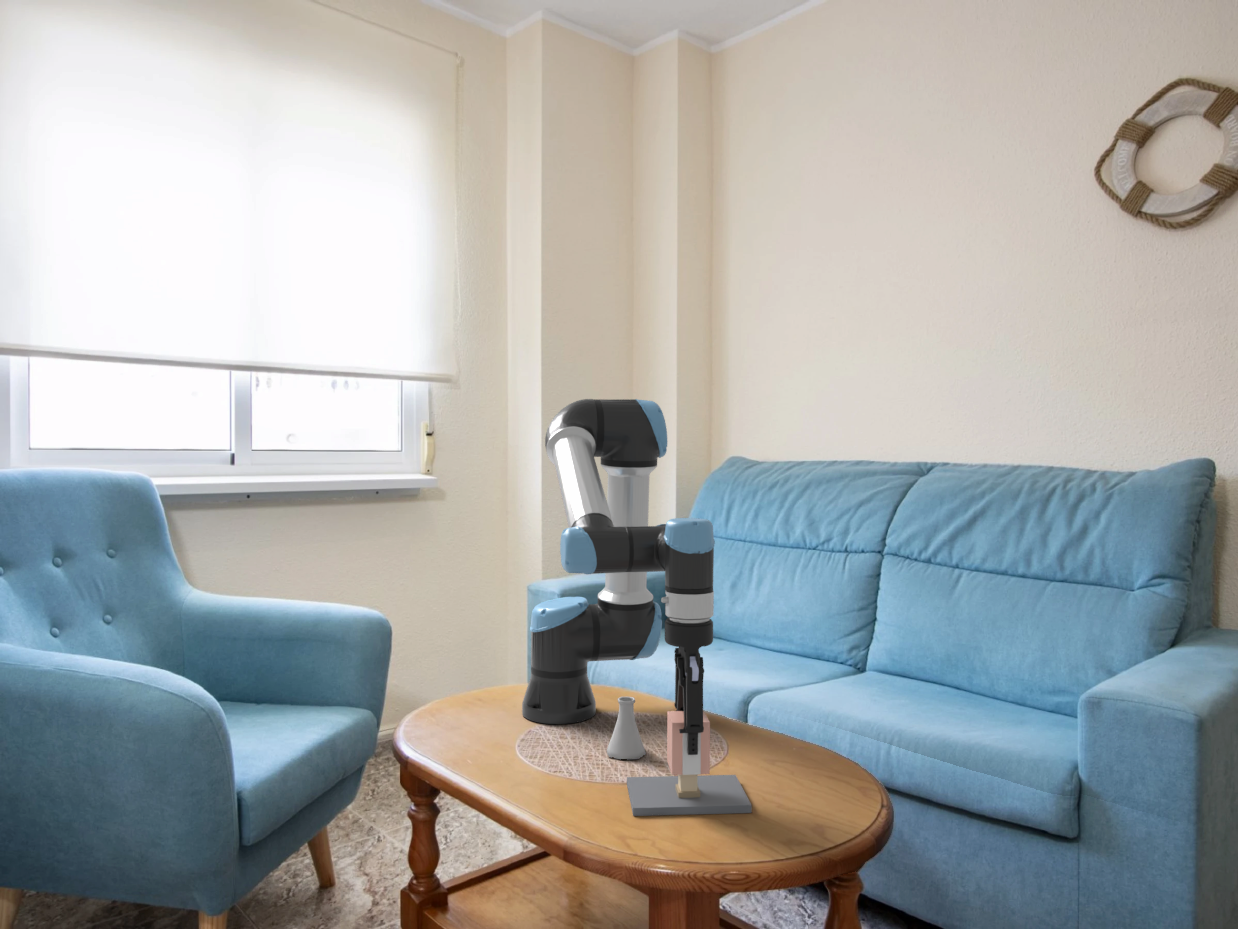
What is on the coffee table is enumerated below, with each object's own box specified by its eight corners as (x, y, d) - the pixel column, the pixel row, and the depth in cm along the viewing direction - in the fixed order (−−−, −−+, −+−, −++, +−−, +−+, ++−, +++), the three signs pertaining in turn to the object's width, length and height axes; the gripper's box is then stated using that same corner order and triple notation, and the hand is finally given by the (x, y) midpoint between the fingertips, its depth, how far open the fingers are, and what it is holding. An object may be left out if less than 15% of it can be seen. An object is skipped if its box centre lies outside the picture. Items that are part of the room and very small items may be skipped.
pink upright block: (667, 761, 139) (667, 711, 139) (703, 760, 139) (703, 710, 139) (672, 774, 133) (672, 722, 133) (709, 774, 134) (709, 722, 133)
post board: (626, 784, 143) (627, 747, 143) (735, 782, 144) (735, 744, 144) (633, 816, 131) (633, 775, 131) (751, 813, 132) (751, 772, 132)
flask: (642, 762, 153) (642, 706, 152) (602, 759, 154) (602, 703, 154) (649, 748, 160) (649, 694, 159) (610, 745, 161) (610, 692, 161)
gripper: (658, 607, 145) (657, 745, 145) (672, 631, 126) (672, 790, 127) (702, 606, 145) (702, 744, 146) (724, 630, 127) (723, 789, 127)
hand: (688, 765), depth 136 cm, fingers closed on pink upright block, 6 cm apart
